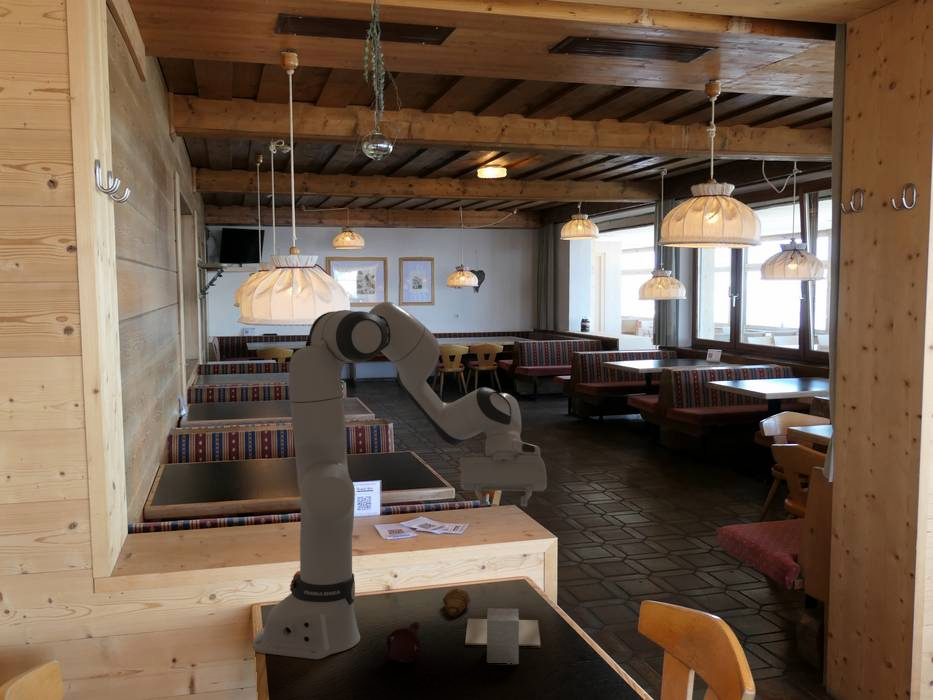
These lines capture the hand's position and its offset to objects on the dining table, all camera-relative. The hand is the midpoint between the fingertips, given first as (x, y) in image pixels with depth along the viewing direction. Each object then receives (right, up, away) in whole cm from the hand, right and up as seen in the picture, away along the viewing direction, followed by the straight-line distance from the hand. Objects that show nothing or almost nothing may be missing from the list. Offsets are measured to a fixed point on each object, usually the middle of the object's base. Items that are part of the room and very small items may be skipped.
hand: (503, 504), depth 181 cm
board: (0, -27, -6) cm, 28 cm away
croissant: (-11, -27, +9) cm, 30 cm away
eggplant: (-21, -28, -19) cm, 40 cm away
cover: (-1, -28, -17) cm, 33 cm away
